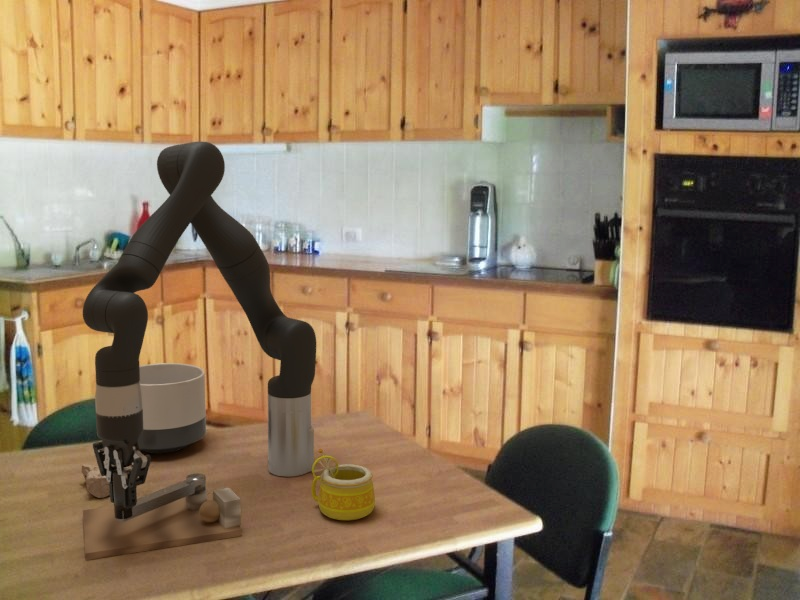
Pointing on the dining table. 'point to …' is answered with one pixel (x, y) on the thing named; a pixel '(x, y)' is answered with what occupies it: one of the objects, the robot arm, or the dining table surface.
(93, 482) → the stone
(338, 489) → the mug
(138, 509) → the lever
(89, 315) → the robot arm
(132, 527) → the board
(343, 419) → the dining table surface
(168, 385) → the planter
